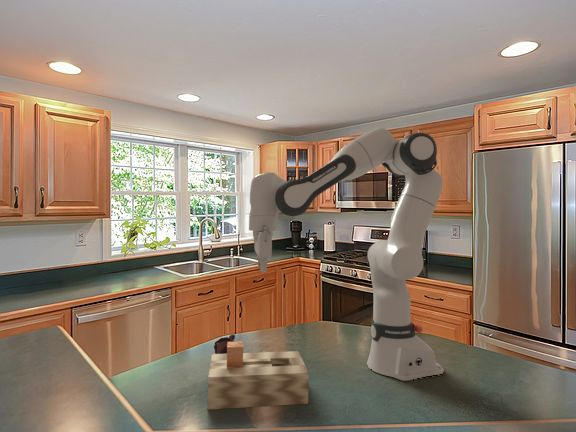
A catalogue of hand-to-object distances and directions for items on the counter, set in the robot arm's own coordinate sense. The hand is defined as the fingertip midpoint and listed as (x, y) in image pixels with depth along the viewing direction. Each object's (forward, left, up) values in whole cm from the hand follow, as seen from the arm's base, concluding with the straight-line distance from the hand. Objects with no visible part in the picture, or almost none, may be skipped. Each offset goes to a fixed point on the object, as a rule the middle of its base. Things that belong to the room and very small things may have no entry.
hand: (262, 269), depth 107 cm
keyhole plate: (+2, +17, -29) cm, 34 cm away
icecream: (+11, -6, -29) cm, 32 cm away
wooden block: (+8, +17, -26) cm, 32 cm away
